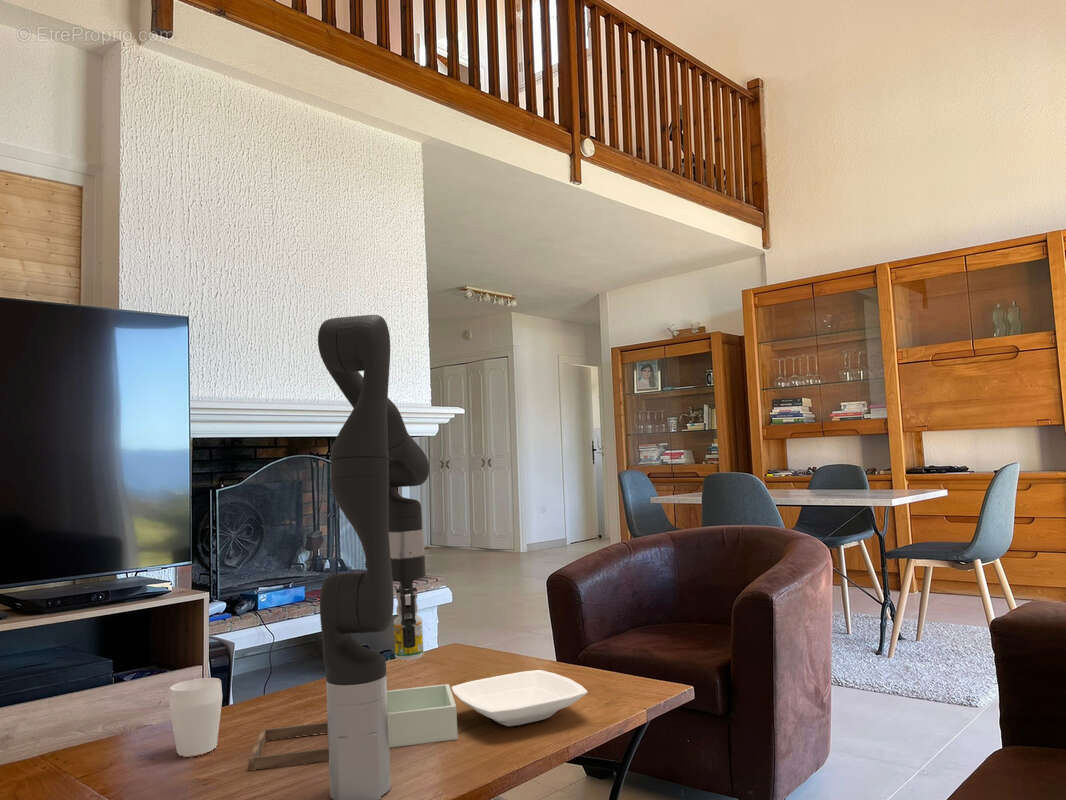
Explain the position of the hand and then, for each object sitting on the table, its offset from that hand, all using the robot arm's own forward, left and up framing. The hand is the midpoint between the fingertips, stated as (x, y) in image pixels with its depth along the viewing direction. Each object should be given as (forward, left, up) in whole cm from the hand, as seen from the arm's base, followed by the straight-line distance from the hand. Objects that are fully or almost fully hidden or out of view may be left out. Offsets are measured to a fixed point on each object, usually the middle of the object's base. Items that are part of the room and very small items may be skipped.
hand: (408, 643), depth 150 cm
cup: (+3, +39, -16) cm, 42 cm away
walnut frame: (-3, +20, -16) cm, 26 cm away
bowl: (0, -20, -16) cm, 26 cm away
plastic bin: (0, 0, -16) cm, 16 cm away
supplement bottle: (0, 0, -3) cm, 3 cm away
